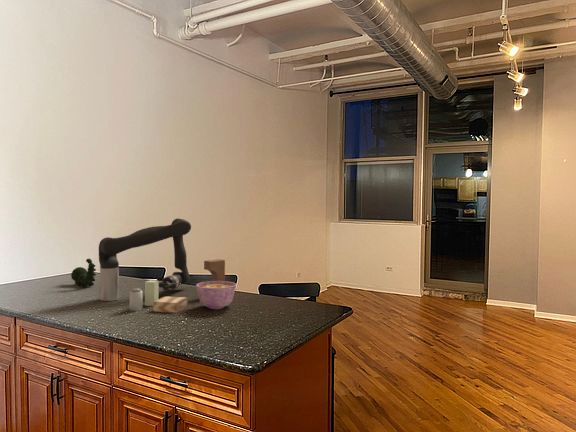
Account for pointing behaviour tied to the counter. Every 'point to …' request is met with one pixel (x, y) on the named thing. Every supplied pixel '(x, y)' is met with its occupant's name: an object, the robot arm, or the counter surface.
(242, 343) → the counter surface
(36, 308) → the counter surface
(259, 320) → the counter surface
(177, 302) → the maple block
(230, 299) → the bowl of food
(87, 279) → the toy figurine
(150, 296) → the sage block
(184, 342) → the counter surface
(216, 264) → the decorative block
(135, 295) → the ceramic jar
